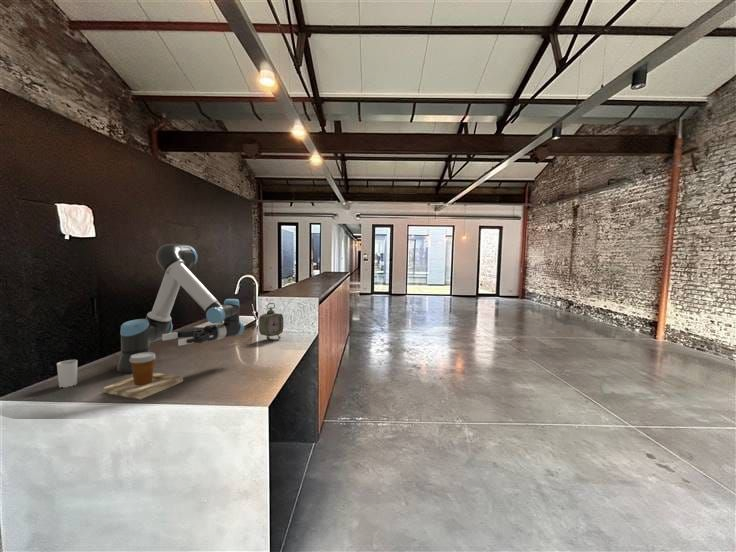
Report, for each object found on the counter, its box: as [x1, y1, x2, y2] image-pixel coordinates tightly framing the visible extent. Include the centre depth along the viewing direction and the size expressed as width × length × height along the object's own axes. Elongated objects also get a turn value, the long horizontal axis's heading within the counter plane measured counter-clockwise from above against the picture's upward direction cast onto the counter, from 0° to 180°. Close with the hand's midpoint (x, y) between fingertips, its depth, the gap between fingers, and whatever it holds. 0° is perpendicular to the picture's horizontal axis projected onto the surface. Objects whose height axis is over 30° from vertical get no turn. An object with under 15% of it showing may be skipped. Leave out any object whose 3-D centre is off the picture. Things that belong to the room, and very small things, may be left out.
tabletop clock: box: [258, 302, 284, 343], centre depth 227 cm, size 14×9×25 cm, turn 147°
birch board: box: [103, 372, 184, 400], centre depth 144 cm, size 20×20×2 cm
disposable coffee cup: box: [129, 351, 157, 385], centre depth 145 cm, size 10×10×12 cm
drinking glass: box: [56, 359, 78, 388], centre depth 145 cm, size 7×7×10 cm
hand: (170, 340), depth 151 cm, fingers open, 13 cm apart
